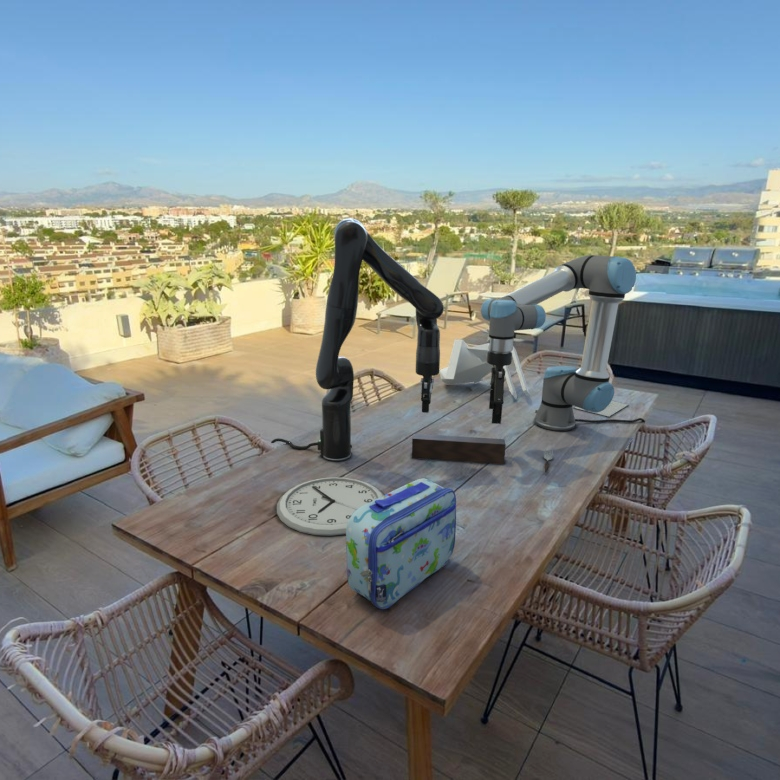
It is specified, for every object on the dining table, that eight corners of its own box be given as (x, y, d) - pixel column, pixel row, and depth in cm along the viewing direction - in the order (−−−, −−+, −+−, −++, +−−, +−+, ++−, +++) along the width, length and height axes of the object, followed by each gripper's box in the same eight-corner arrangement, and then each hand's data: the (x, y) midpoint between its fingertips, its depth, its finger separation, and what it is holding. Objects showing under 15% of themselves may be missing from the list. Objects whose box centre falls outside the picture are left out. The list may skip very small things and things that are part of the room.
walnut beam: (502, 458, 174) (504, 439, 172) (503, 464, 170) (505, 444, 167) (412, 452, 177) (413, 433, 175) (411, 458, 173) (412, 438, 171)
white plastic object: (461, 429, 252) (437, 405, 227) (444, 352, 274) (420, 323, 250) (535, 404, 240) (518, 377, 215) (510, 326, 262) (492, 293, 237)
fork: (540, 473, 163) (541, 467, 163) (544, 453, 178) (545, 448, 177) (549, 474, 162) (550, 468, 162) (552, 454, 177) (553, 449, 176)
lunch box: (375, 622, 100) (376, 527, 94) (339, 595, 108) (338, 505, 101) (459, 565, 118) (465, 481, 112) (424, 545, 125) (427, 465, 119)
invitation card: (608, 416, 214) (573, 407, 224) (608, 416, 214) (573, 408, 224) (628, 404, 229) (594, 396, 238) (628, 405, 229) (594, 397, 238)
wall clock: (392, 527, 129) (268, 531, 127) (391, 533, 130) (269, 537, 127) (383, 473, 158) (282, 475, 155) (383, 478, 158) (282, 480, 156)
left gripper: (417, 353, 171) (416, 400, 176) (413, 364, 158) (412, 414, 162) (440, 354, 170) (438, 401, 175) (438, 365, 157) (436, 416, 162)
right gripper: (485, 342, 173) (480, 402, 180) (490, 360, 150) (484, 429, 156) (508, 343, 172) (503, 403, 179) (516, 361, 149) (510, 430, 155)
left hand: (426, 407), depth 169 cm, fingers open, 8 cm apart
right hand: (494, 415), depth 167 cm, fingers open, 13 cm apart
